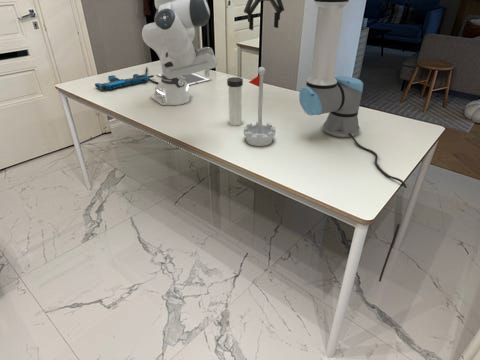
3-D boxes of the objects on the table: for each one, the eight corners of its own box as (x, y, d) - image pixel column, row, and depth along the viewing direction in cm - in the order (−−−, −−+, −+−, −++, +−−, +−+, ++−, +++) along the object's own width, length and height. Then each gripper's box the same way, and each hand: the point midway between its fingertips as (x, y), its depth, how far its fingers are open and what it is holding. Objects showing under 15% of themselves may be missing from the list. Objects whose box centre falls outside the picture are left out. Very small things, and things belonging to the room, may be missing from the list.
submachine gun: (139, 68, 225) (158, 74, 208) (140, 74, 226) (158, 80, 210) (87, 78, 206) (103, 86, 189) (89, 84, 208) (104, 92, 191)
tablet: (156, 75, 222) (156, 74, 221) (183, 69, 233) (183, 69, 233) (183, 86, 201) (183, 86, 201) (210, 80, 212) (210, 79, 212)
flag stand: (266, 131, 149) (269, 61, 133) (280, 143, 139) (285, 69, 122) (239, 136, 145) (238, 64, 129) (250, 149, 135) (252, 73, 118)
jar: (233, 119, 160) (232, 77, 149) (243, 122, 158) (243, 79, 147) (227, 124, 156) (226, 81, 145) (237, 126, 154) (237, 83, 143)
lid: (232, 81, 151) (232, 76, 150) (245, 83, 148) (245, 78, 147) (224, 85, 146) (224, 80, 145) (237, 88, 143) (237, 82, 142)
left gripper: (210, 39, 121) (221, 65, 133) (157, 53, 124) (172, 77, 137) (211, 52, 118) (222, 78, 131) (157, 66, 122) (172, 90, 134)
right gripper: (284, -24, 159) (281, 25, 170) (236, -23, 150) (236, 29, 161) (293, -24, 153) (290, 27, 165) (244, -22, 144) (243, 31, 156)
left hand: (196, 78), depth 134 cm, fingers open, 8 cm apart
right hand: (263, 28), depth 163 cm, fingers open, 13 cm apart
